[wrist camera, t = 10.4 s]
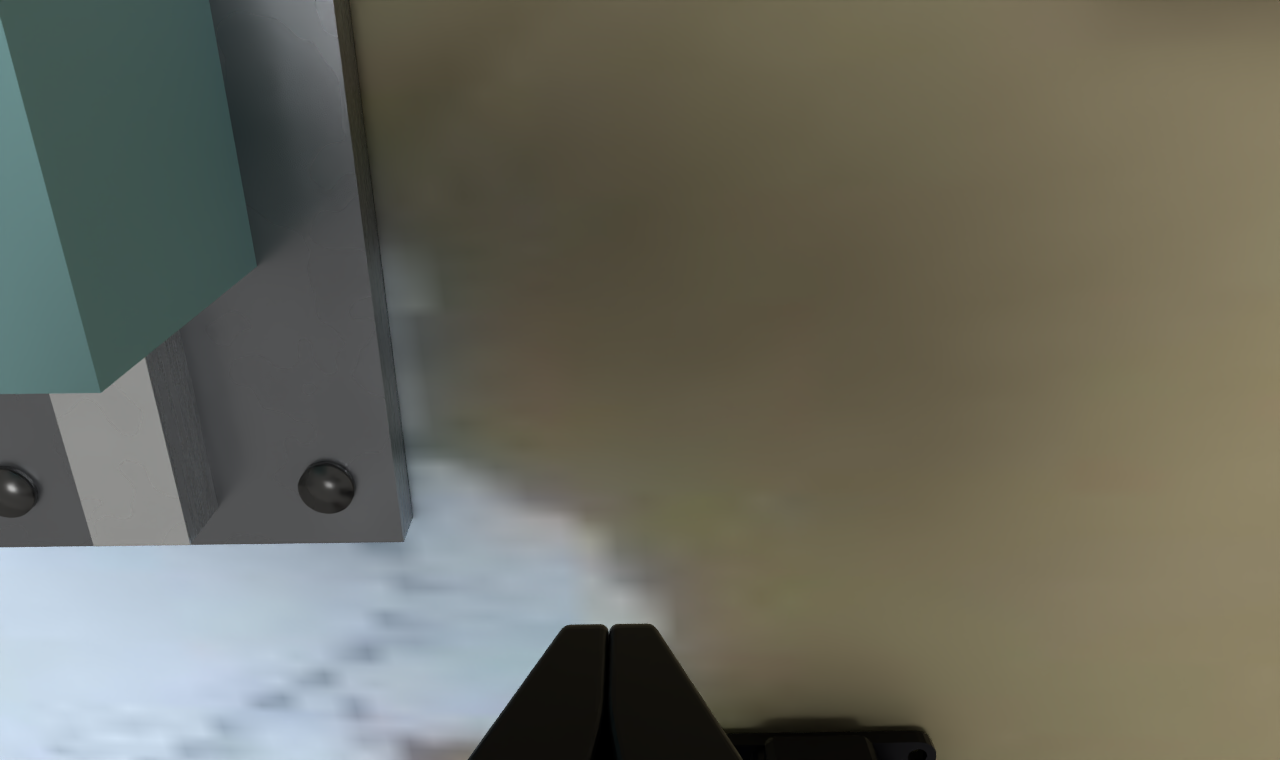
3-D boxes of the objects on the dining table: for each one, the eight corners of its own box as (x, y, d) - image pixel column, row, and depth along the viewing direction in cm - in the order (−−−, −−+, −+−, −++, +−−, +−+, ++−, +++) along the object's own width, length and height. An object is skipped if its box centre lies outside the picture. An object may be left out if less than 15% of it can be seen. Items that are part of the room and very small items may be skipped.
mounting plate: (413, 518, 22) (388, 581, 20) (-11, 523, 22) (-84, 588, 20) (271, -620, 14) (202, -735, 12) (-405, -620, 14) (-610, -738, 11)
